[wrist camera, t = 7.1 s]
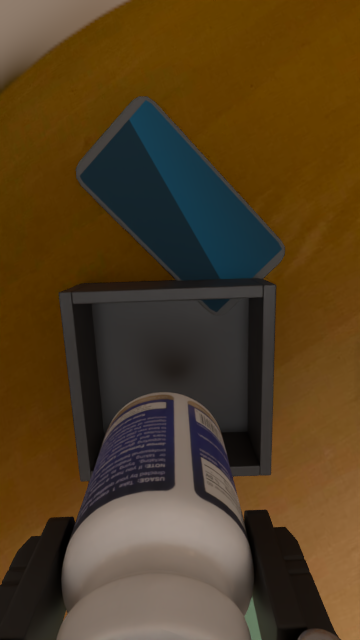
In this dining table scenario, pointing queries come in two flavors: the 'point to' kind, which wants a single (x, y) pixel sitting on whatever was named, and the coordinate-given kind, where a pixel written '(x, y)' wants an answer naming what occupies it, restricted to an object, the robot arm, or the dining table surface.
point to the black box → (173, 359)
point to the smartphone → (176, 202)
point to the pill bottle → (159, 532)
